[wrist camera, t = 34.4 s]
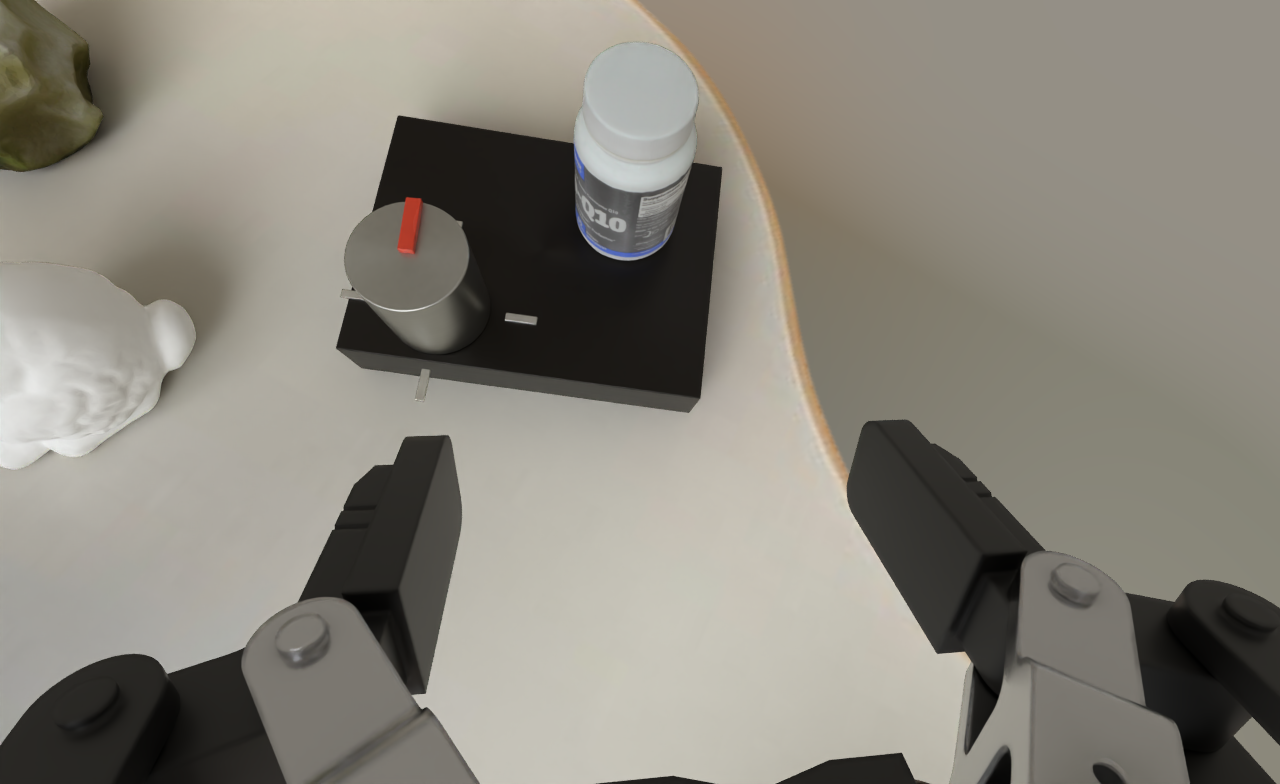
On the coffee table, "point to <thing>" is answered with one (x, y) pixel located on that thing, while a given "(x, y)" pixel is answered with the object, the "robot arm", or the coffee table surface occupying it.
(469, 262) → the knob
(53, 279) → the rabbit
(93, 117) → the greyish green lumpy piece
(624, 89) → the pill bottle
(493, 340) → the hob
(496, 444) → the coffee table surface
